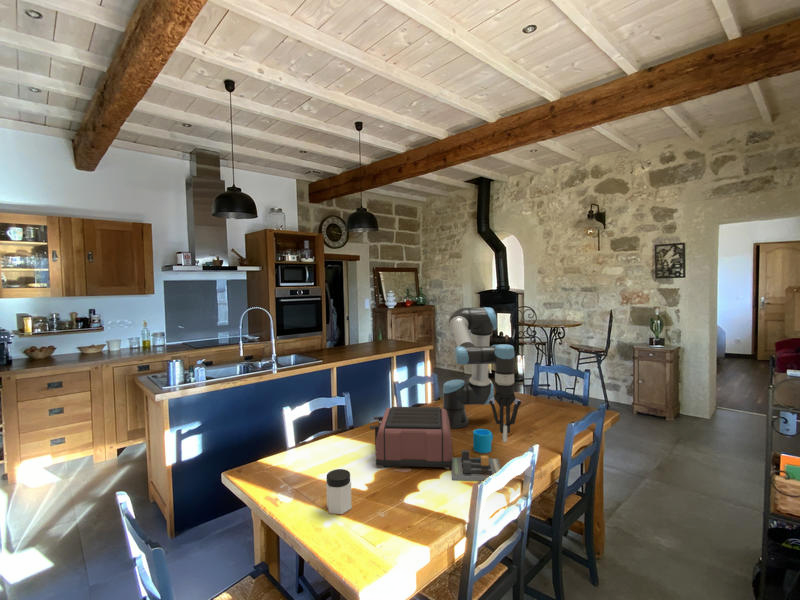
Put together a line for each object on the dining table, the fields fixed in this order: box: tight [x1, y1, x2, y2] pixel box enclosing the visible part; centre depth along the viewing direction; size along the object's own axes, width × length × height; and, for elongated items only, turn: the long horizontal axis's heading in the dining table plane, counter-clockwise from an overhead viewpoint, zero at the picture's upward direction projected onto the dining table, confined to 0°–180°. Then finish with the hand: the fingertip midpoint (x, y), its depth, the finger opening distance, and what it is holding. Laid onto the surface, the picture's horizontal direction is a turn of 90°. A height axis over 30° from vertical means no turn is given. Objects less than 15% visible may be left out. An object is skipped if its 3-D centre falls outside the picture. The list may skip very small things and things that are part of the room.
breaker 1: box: [461, 449, 470, 462], centre depth 172 cm, size 3×3×4 cm
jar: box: [325, 468, 353, 515], centre depth 141 cm, size 9×8×12 cm
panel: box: [451, 456, 502, 482], centre depth 167 cm, size 16×20×2 cm
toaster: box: [369, 406, 453, 470], centre depth 184 cm, size 31×36×18 cm
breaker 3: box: [480, 454, 489, 468], centre depth 166 cm, size 3×3×4 cm
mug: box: [472, 428, 494, 454], centre depth 189 cm, size 12×8×8 cm
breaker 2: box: [463, 460, 471, 473], centre depth 162 cm, size 3×3×4 cm
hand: (504, 440), depth 165 cm, fingers closed
